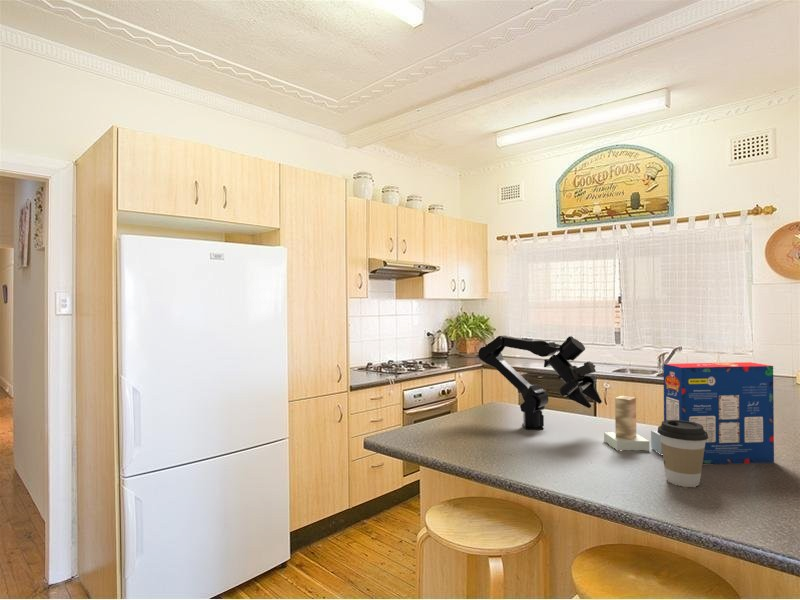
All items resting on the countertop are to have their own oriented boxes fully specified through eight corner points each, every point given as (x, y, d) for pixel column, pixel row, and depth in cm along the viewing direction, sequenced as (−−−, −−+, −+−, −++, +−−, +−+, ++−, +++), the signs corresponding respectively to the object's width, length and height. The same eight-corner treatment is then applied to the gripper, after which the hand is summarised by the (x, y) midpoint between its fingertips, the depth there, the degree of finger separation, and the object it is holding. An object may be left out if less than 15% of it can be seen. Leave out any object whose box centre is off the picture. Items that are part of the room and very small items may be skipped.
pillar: (615, 436, 150) (615, 397, 150) (621, 433, 154) (621, 395, 154) (630, 439, 147) (629, 399, 147) (636, 436, 151) (635, 397, 151)
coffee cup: (662, 471, 128) (661, 416, 128) (711, 480, 121) (711, 423, 121) (653, 483, 120) (652, 425, 120) (705, 495, 112) (705, 432, 112)
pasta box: (751, 453, 143) (750, 362, 143) (774, 462, 135) (773, 365, 135) (664, 456, 141) (663, 363, 141) (682, 465, 133) (681, 367, 133)
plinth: (617, 452, 146) (616, 441, 146) (604, 442, 156) (604, 432, 156) (649, 452, 145) (649, 441, 145) (634, 442, 155) (634, 432, 155)
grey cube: (661, 455, 141) (661, 436, 141) (651, 449, 147) (651, 430, 147) (681, 455, 141) (681, 436, 141) (670, 449, 147) (670, 430, 147)
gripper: (568, 356, 154) (602, 394, 147) (590, 352, 168) (623, 386, 160) (546, 377, 160) (578, 415, 152) (569, 371, 173) (599, 406, 166)
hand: (595, 405), depth 157 cm, fingers open, 9 cm apart
